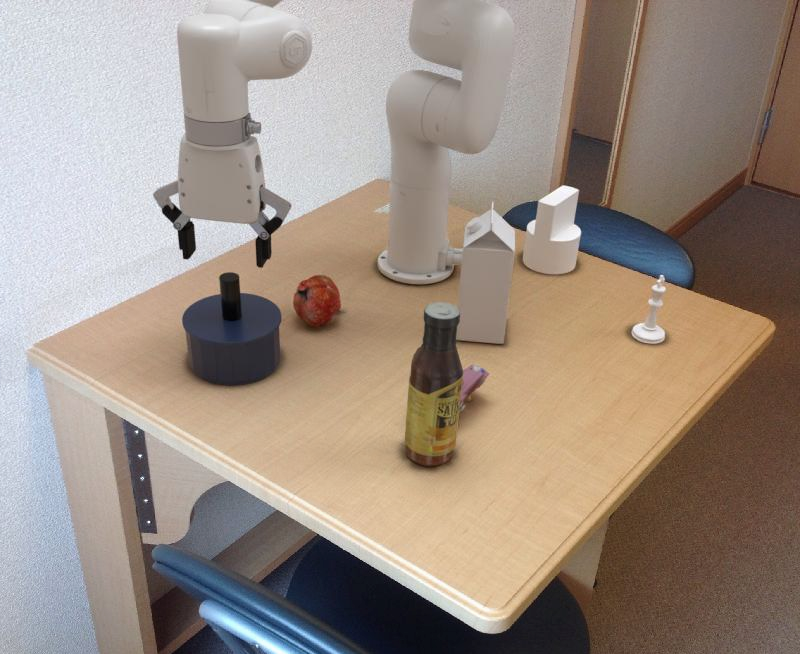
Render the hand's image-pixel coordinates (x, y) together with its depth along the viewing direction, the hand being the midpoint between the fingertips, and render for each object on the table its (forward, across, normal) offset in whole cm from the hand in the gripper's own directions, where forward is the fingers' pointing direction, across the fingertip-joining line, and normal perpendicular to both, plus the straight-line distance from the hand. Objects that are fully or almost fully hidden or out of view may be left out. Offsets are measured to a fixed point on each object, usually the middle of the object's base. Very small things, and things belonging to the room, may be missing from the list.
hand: (226, 258), depth 118 cm
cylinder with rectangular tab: (+15, -43, -40) cm, 61 cm away
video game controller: (+16, -31, +5) cm, 35 cm away
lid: (+9, 0, 0) cm, 9 cm away
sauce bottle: (+16, -29, +15) cm, 36 cm away
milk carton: (+16, -33, -15) cm, 40 cm away
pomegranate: (+16, -9, -13) cm, 23 cm away
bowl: (+16, 0, 0) cm, 16 cm away
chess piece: (+15, -58, -19) cm, 63 cm away
